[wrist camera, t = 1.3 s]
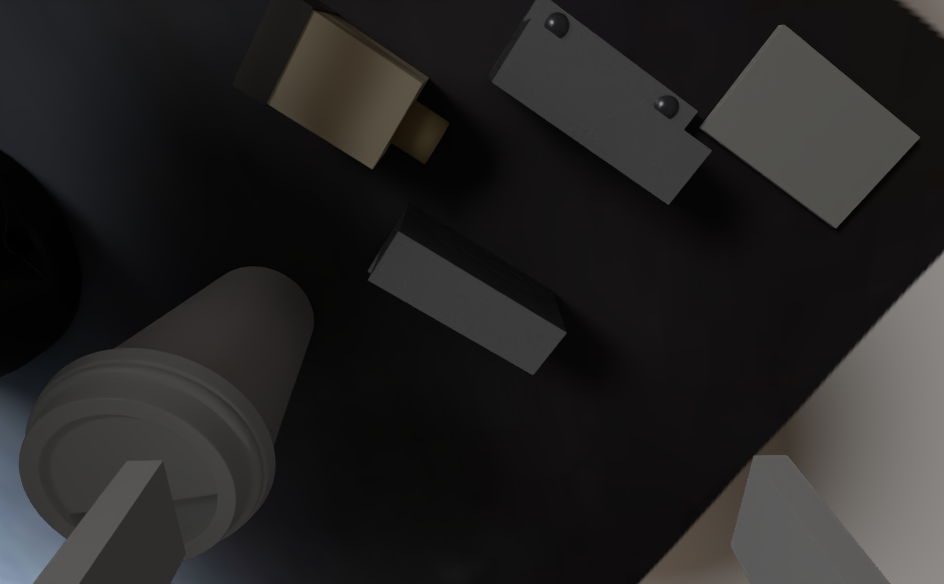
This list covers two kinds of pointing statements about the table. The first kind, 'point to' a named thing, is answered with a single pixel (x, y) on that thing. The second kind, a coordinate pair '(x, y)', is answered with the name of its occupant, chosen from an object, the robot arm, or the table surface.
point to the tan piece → (338, 83)
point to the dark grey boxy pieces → (582, 118)
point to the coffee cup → (177, 408)
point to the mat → (808, 128)
